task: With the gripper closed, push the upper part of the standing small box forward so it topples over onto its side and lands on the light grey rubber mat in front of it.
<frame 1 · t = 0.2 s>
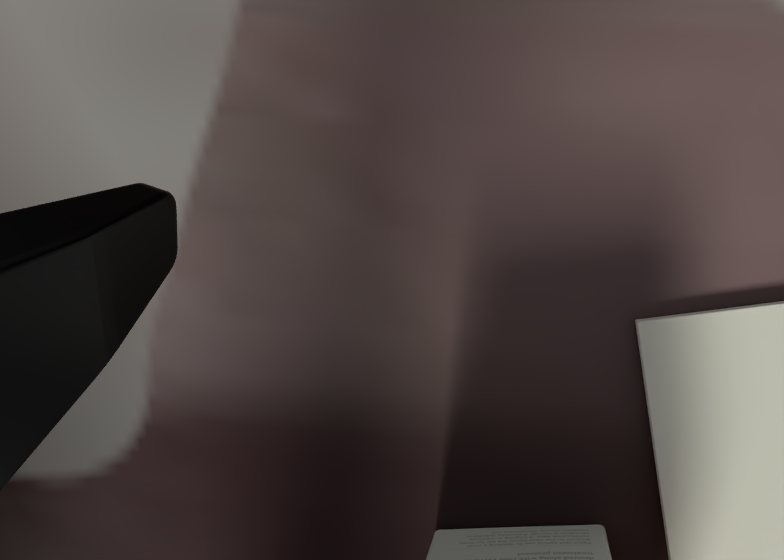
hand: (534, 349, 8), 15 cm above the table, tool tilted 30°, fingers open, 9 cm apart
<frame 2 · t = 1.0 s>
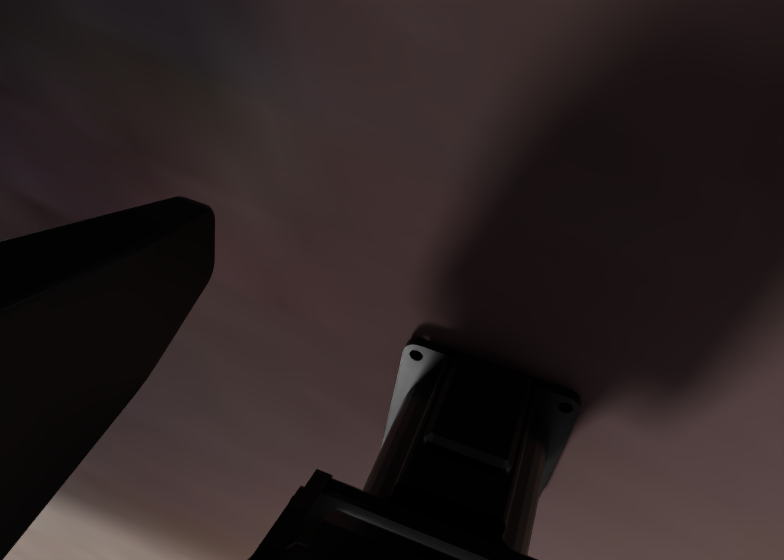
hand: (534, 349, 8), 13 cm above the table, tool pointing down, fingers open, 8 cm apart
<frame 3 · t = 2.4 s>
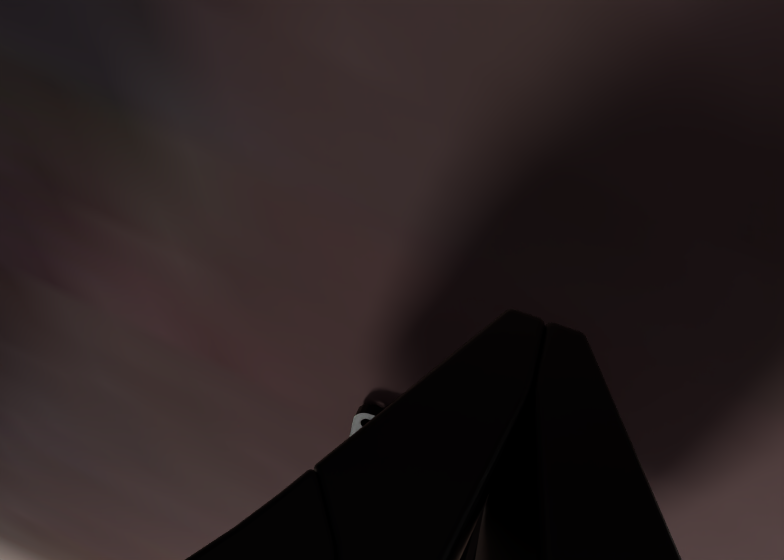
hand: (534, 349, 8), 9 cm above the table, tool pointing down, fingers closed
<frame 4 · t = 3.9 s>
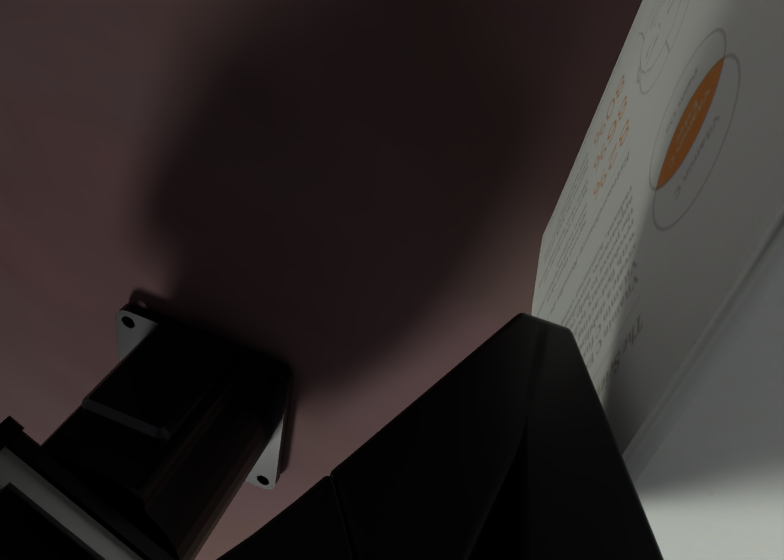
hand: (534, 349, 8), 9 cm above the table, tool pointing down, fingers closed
small box: (729, 117, 15), on the table, touching gripper
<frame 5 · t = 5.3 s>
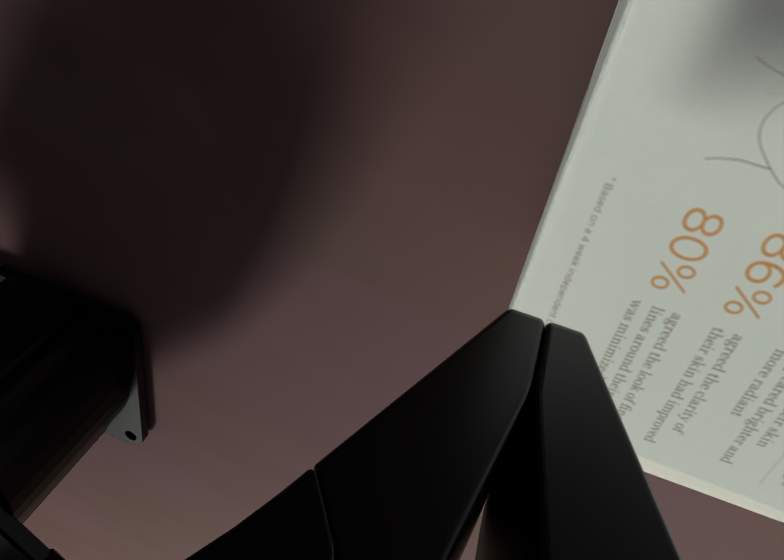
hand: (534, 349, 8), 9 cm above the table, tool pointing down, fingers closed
small box: (555, 138, 12), point 3 cm above the table, touching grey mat
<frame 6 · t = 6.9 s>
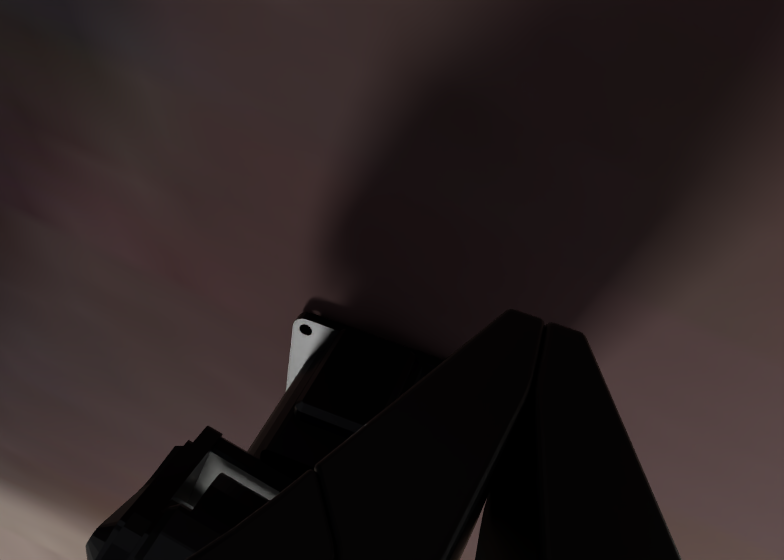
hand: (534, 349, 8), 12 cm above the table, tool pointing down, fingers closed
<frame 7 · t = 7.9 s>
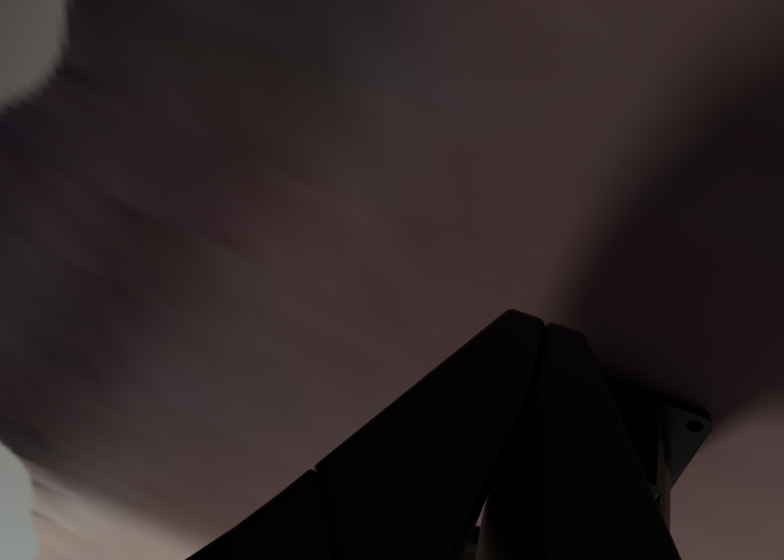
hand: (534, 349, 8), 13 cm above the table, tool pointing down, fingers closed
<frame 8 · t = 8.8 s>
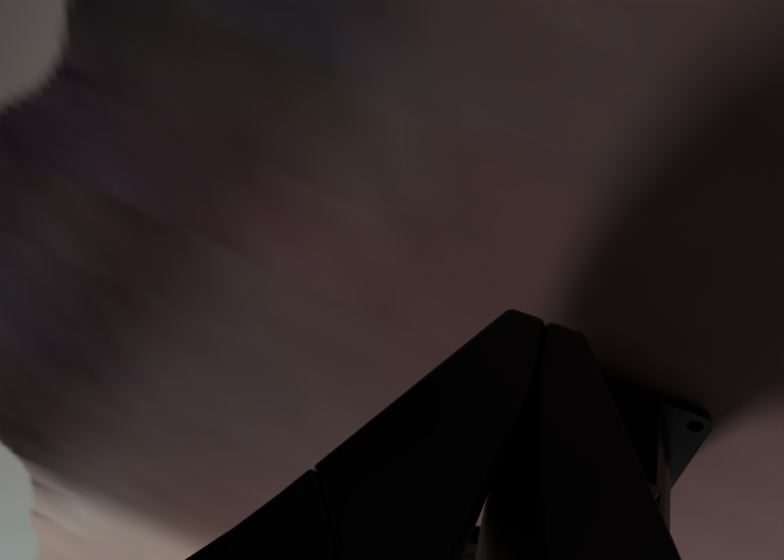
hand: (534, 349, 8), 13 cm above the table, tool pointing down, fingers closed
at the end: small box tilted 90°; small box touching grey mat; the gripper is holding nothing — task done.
